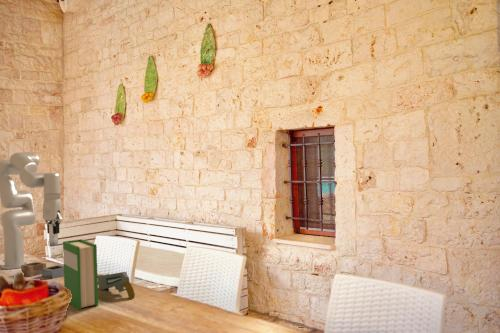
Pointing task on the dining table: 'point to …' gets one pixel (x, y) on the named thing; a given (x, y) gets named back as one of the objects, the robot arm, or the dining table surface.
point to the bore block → (33, 268)
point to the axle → (52, 236)
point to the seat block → (53, 272)
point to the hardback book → (81, 272)
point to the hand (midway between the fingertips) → (53, 232)
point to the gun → (116, 282)
